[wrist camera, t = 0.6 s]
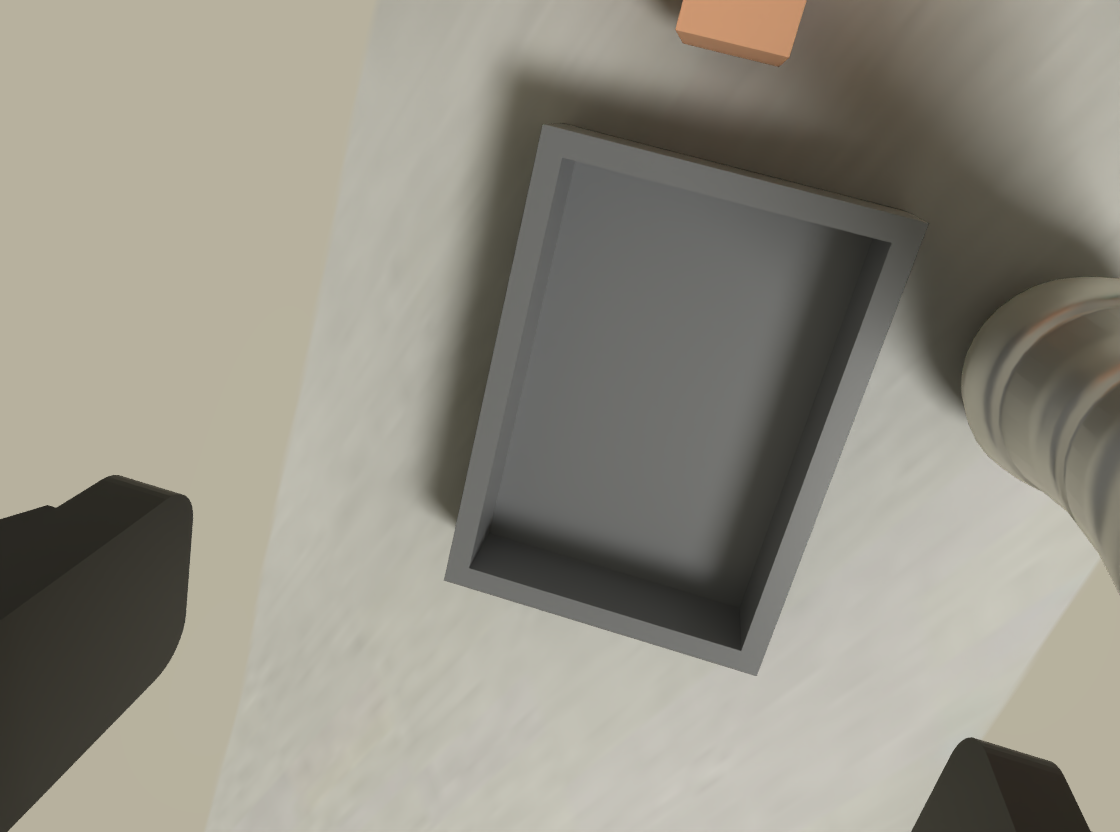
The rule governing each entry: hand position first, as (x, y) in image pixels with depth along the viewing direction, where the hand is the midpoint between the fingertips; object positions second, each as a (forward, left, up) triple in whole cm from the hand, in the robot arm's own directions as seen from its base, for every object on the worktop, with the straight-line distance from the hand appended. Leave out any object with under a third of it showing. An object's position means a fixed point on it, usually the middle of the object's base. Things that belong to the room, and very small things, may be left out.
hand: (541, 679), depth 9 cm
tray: (+4, +1, -23) cm, 24 cm away
